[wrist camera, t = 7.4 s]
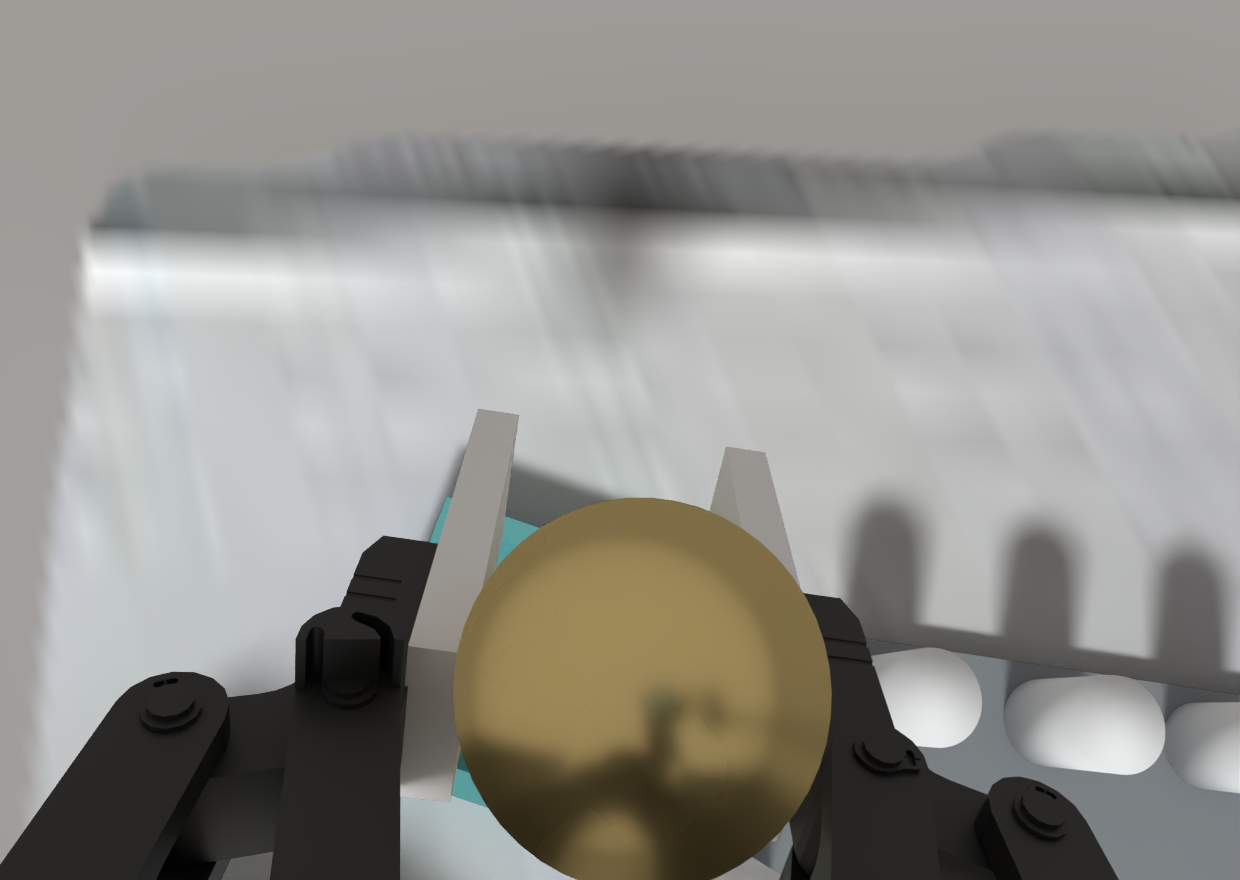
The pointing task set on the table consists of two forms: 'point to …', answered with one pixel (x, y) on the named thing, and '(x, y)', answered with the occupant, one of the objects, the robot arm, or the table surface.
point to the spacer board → (1103, 799)
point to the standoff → (642, 693)
